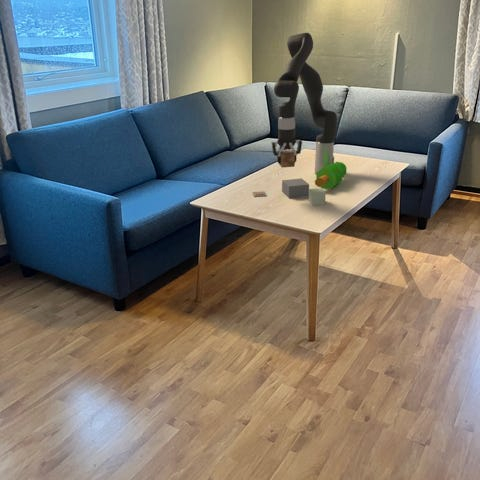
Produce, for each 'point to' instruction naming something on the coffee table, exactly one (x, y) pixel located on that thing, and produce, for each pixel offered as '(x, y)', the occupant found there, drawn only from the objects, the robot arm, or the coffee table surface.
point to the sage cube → (317, 196)
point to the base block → (295, 188)
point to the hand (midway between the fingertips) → (286, 163)
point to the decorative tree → (330, 175)
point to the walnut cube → (287, 159)
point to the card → (259, 194)
